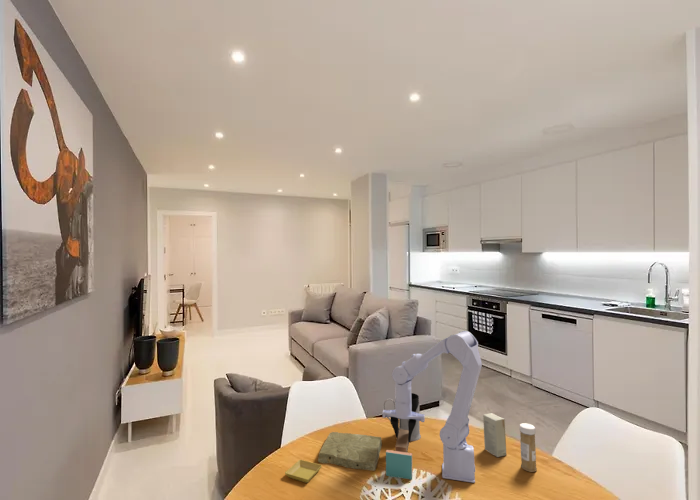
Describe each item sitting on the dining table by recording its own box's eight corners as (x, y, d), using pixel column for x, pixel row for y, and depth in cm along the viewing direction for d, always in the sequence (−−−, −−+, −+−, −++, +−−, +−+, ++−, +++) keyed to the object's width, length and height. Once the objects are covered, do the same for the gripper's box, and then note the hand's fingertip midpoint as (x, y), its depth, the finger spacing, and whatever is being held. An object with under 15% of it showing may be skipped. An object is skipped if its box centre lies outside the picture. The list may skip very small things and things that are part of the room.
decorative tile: (329, 439, 131) (329, 429, 131) (382, 444, 127) (382, 434, 127) (315, 466, 112) (315, 454, 113) (375, 473, 108) (375, 461, 109)
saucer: (284, 479, 105) (284, 472, 105) (299, 465, 113) (299, 458, 113) (308, 487, 101) (308, 479, 101) (322, 471, 109) (322, 465, 109)
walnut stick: (409, 440, 122) (409, 430, 123) (406, 458, 111) (406, 447, 111) (399, 438, 123) (399, 429, 123) (395, 457, 112) (395, 446, 112)
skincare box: (507, 455, 118) (505, 419, 119) (497, 458, 117) (496, 421, 117) (492, 446, 124) (492, 412, 125) (483, 449, 123) (482, 413, 123)
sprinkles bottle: (539, 472, 108) (538, 428, 109) (525, 472, 108) (524, 428, 109) (531, 464, 113) (530, 422, 114) (518, 464, 113) (516, 422, 114)
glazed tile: (412, 476, 106) (412, 453, 106) (411, 479, 104) (411, 455, 105) (386, 472, 108) (386, 449, 109) (385, 475, 107) (385, 452, 107)
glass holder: (422, 441, 128) (422, 400, 129) (384, 440, 129) (384, 399, 130) (418, 430, 137) (418, 392, 138) (383, 429, 137) (383, 391, 138)
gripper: (424, 398, 122) (425, 437, 122) (384, 394, 126) (384, 432, 125) (423, 405, 116) (424, 447, 115) (381, 401, 119) (381, 441, 119)
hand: (403, 440), depth 120 cm, fingers closed on walnut stick, 3 cm apart
